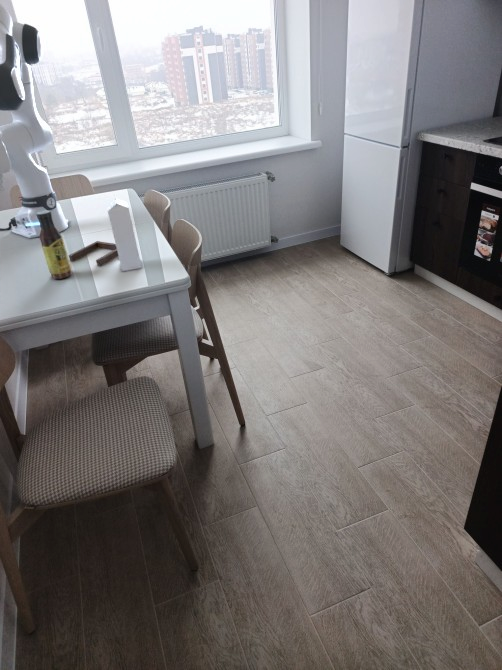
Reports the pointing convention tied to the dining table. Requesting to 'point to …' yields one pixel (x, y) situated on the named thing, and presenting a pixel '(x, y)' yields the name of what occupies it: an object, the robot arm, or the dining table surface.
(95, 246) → the bottle bay
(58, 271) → the sauce bottle
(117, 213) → the milk
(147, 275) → the dining table surface
